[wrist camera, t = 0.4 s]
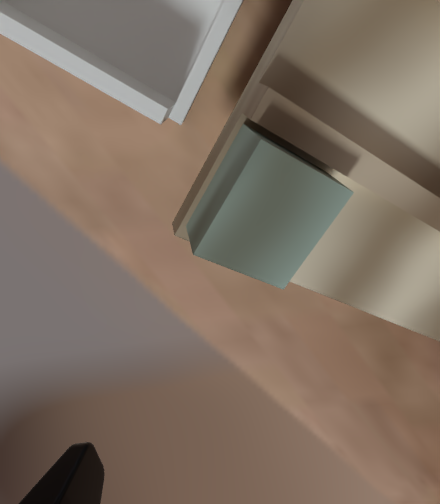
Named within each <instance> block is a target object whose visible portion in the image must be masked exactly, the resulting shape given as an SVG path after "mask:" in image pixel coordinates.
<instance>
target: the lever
mask: <svg viewBox="0 0 440 504" xmlns="http://www.w3.org/2000/svg"><path fill="white" fill-rule="evenodd" d="M172 225H173V230H174V235H175V236H177V237H180V238H182V239H185V240H187V241H190V244H191V248H192V252H193V255H195V256H198V257H201V258H203V259H206V260H208V261H211V262H214V263H216V264H219V265H221V266H224V267H227V268H229V269H232V270H234V271H237V272H239V273H242V274H245V275H247V276H250V277H252V278H255V279H258V280H260V281H263V282H265V283H268V284H271V285H273V286H276V287H278V288H281V289H284V288H285V287H286V285H287V284H288V283H289V281H290V282H292V283H295V284H297V285H300V286H302V287H305V288H307V289H310V290H312V291H315V292H317V293H320V294H322V295H325V296H327V297H330V298H332V299H335V300H337V301H340V302H342V303H345V304H347V305H350V306H352V307H355V308H357V309H360V310H362V311H365V312H367V313H370V314H372V315H375V316H377V317H380V318H382V319H385V320H387V321H390V322H392V323H395V324H397V325H400V326H402V327H405V328H407V329H410V330H412V331H415V332H417V333H420V334H422V335H425V336H427V337H430V338H432V339H435V340H437V341H440V0H293V1H292V2H291V4H290V6H289V8H288V10H287V12H286V13H285V15H284V17H283V19H282V21H281V23H280V25H279V26H278V28H277V30H276V32H275V34H274V36H273V38H272V39H271V41H270V43H269V45H268V47H267V49H266V50H265V52H264V54H263V56H262V58H261V60H260V62H259V63H258V65H257V67H256V69H255V71H254V73H253V75H252V76H251V78H250V80H249V82H248V84H247V86H246V88H245V89H244V91H243V93H242V95H241V97H240V99H239V100H238V102H237V104H236V106H235V108H234V110H233V112H232V113H231V115H230V117H229V119H228V121H227V123H226V125H225V126H224V128H223V130H222V132H221V134H220V136H219V138H218V139H217V141H216V143H215V145H214V147H213V149H212V150H211V152H210V154H209V156H208V158H207V160H206V162H205V163H204V165H203V167H202V169H201V171H200V173H199V175H198V176H197V178H196V180H195V182H194V184H193V186H192V188H191V189H190V191H189V193H188V195H187V197H186V199H185V200H184V202H183V204H182V206H181V208H180V210H179V212H178V213H177V215H176V217H175V219H174V221H173V223H172Z"/></svg>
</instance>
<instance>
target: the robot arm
mask: <svg viewBox="0 0 440 504" xmlns="http://www.w3.org/2000/svg"><path fill="white" fill-rule="evenodd" d="M103 482H104V468H103V464H102V462H101V460H100V458H99V456H98V454H97V452H96V449H95V447H94V445H93V444H92V443H90V442H86V443H79V444H74V445H72V446H71V447H69V448H68V449H67V450H66V452H65V453H64V454H63V455H62V456H61V457H60V458H59V459H58V460H57V462H56V463H55V464H54V465H53V466H52V467H51V468H50V469H49V471H48V472H47V473H46V474H45V475H44V476H43V477H42V478H41V479H40V480H39V482H38V483H37V484H36V485H35V486H34V487H33V488H32V489H31V491H30V492H29V493H28V494H27V495H26V496H25V497H24V498H23V499H22V500H21V502H20V503H19V504H100V502H101V496H102V489H103Z"/></svg>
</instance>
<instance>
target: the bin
mask: <svg viewBox="0 0 440 504" xmlns="http://www.w3.org/2000/svg"><path fill="white" fill-rule="evenodd" d="M242 2H243V0H0V34H2V35H4V36H6V37H7V38H9V39H11V40H13V41H14V42H16V43H18V44H20V45H22V46H23V47H25V48H27V49H29V50H30V51H32V52H34V53H36V54H37V55H39V56H41V57H43V58H44V59H46V60H48V61H50V62H52V63H53V64H55V65H57V66H59V67H60V68H62V69H64V70H66V71H67V72H69V73H71V74H73V75H74V76H76V77H78V78H80V79H82V80H83V81H85V82H87V83H89V84H90V85H92V86H94V87H96V88H97V89H99V90H101V91H103V92H104V93H106V94H108V95H110V96H112V97H113V98H115V99H117V100H119V101H120V102H122V103H124V104H126V105H127V106H129V107H131V108H133V109H134V110H136V111H138V112H140V113H142V114H143V115H145V116H147V117H149V118H150V119H152V120H154V121H156V122H157V123H159V124H162V123H163V122H164V121H165V120H166V119H168V118H170V119H172V120H173V121H175V122H177V123H179V124H180V125H181V124H182V123H183V122H184V120H185V118H186V116H187V114H188V112H189V110H190V108H191V106H192V104H193V102H194V100H195V98H196V96H197V93H198V91H199V89H200V87H201V85H202V83H203V81H204V79H205V77H206V75H207V73H208V71H209V69H210V67H211V65H212V63H213V61H214V59H215V57H216V55H217V53H218V51H219V49H220V47H221V45H222V43H223V41H224V39H225V37H226V35H227V33H228V31H229V29H230V27H231V25H232V23H233V21H234V19H235V17H236V15H237V13H238V11H239V8H240V6H241V4H242Z"/></svg>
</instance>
